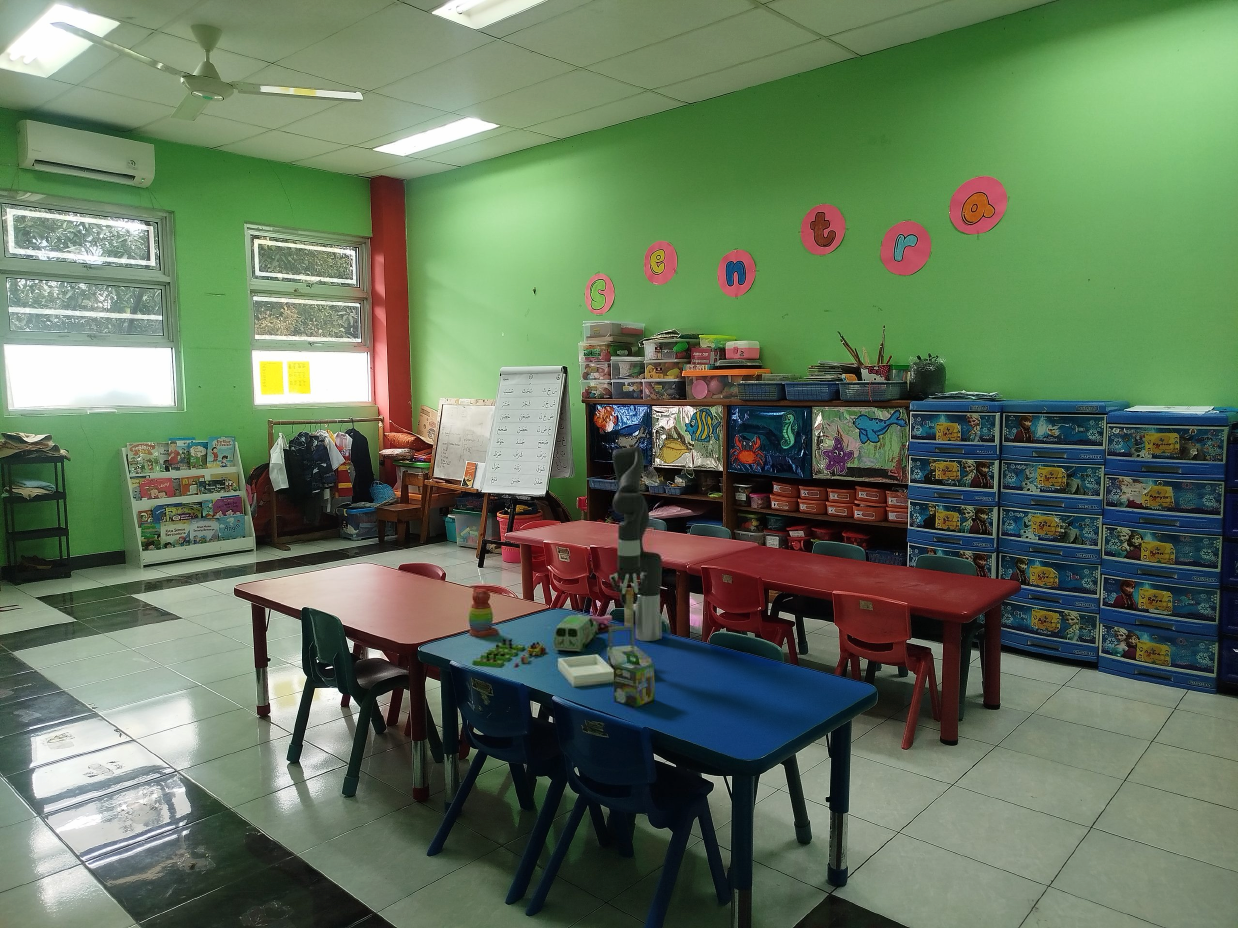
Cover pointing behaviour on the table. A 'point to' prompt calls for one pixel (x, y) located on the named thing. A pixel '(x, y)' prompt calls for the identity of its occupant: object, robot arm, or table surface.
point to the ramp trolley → (623, 648)
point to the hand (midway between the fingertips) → (628, 603)
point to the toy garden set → (507, 654)
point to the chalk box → (634, 681)
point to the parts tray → (586, 670)
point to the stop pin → (629, 607)
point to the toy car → (574, 633)
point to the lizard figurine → (603, 623)
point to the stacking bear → (481, 615)
